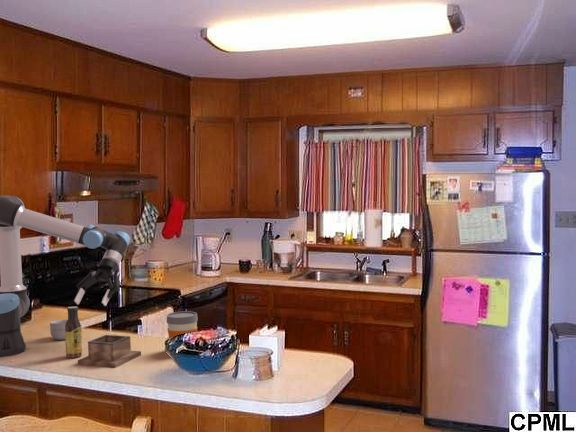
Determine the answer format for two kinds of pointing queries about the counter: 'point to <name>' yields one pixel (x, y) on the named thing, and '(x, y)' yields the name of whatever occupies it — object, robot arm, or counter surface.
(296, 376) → the counter surface
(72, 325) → the sauce bottle
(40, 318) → the counter surface
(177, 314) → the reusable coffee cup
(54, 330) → the teacup
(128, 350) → the box on a tray
